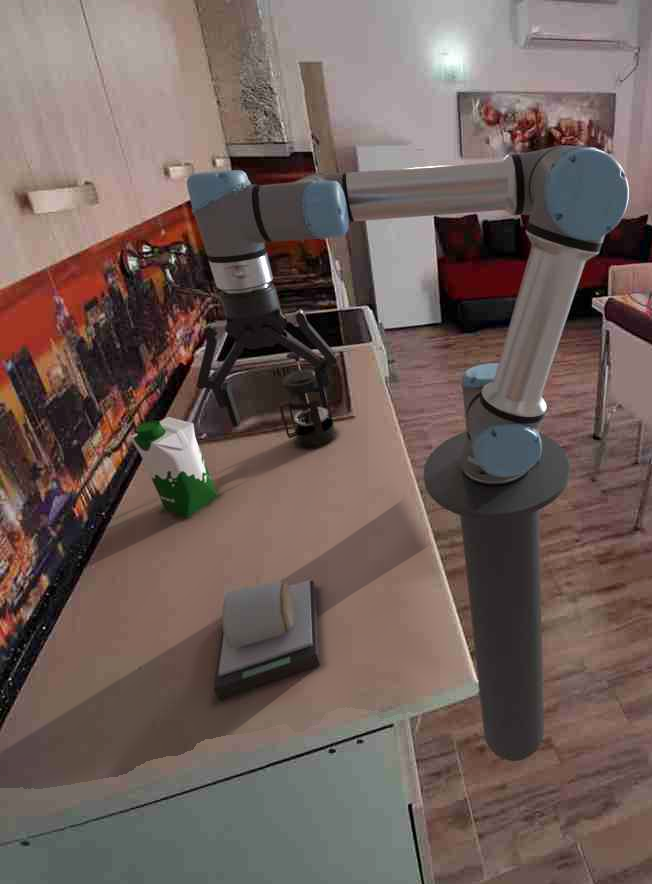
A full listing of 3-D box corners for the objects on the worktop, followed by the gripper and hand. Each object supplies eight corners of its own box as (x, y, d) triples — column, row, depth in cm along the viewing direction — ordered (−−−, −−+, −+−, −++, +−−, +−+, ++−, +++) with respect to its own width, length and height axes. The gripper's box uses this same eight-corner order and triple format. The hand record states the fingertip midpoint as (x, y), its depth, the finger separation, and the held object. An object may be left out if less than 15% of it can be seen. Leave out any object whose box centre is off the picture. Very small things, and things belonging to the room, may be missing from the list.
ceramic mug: (295, 643, 72) (282, 604, 68) (232, 661, 70) (216, 622, 66) (298, 586, 81) (286, 550, 78) (242, 602, 79) (228, 565, 75)
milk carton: (157, 511, 104) (120, 428, 95) (197, 485, 111) (165, 405, 102) (186, 522, 100) (150, 436, 91) (225, 494, 108) (195, 412, 99)
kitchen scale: (316, 590, 84) (312, 576, 82) (320, 665, 72) (315, 651, 70) (230, 616, 80) (224, 603, 79) (219, 700, 68) (212, 685, 67)
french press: (331, 422, 132) (312, 340, 122) (344, 438, 125) (325, 352, 115) (285, 439, 126) (261, 354, 116) (296, 456, 119) (271, 367, 109)
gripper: (141, 307, 67) (193, 442, 76) (337, 280, 74) (362, 407, 83) (154, 292, 73) (200, 419, 83) (333, 269, 80) (357, 388, 90)
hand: (281, 413), depth 83 cm, fingers open, 13 cm apart
